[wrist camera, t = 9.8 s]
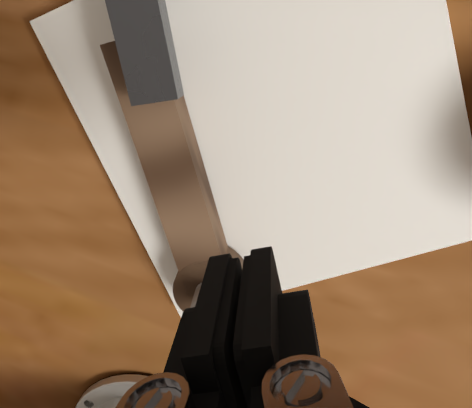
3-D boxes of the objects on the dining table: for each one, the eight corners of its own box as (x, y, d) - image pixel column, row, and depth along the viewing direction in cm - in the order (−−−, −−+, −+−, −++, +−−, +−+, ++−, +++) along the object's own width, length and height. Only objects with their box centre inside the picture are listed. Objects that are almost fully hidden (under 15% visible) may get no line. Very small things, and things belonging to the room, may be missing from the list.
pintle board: (184, 305, 33) (180, 317, 32) (42, 21, 26) (29, 21, 25) (479, 225, 29) (490, 235, 27) (406, -151, 21) (415, -163, 20)
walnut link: (255, 296, 30) (251, 341, 26) (191, 306, 31) (177, 351, 27) (179, 25, 24) (157, 25, 19) (101, 47, 25) (63, 52, 20)
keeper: (196, 85, 25) (178, 99, 20) (158, 91, 26) (131, 106, 21) (173, -41, 23) (145, -58, 18) (130, -33, 23) (93, -47, 18)
